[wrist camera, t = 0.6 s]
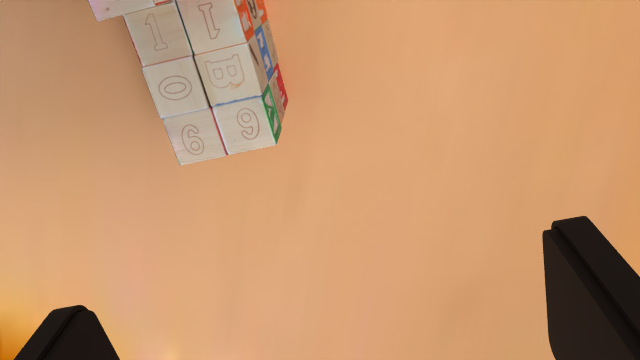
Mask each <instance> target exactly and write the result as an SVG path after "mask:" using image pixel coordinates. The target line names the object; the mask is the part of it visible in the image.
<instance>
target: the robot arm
mask: <svg viewBox="0 0 640 360" xmlns="http://www.w3.org/2000/svg"><path fill="white" fill-rule="evenodd" d="M543 254H544V270H545V286H546V302H547V318H548V335H549V342H550V346H551V349H552V352H553V355H554V357H555V359H556V360H640V277H639V276H638V274H637V273H636V272H635V271H634V270H633V269H632V268H631V266H630V265H629V264H628V263H627V262H626V261H625V260H624V258H623V257H622V256H621V255H620V254H619V253H618V252H617V250H616V249H615V248H614V247H613V246H612V245H611V244H610V242H609V241H608V240H607V239H606V238H605V237H604V236H603V234H602V233H601V232H600V231H599V230H598V229H597V228H596V226H595V225H594V224H593V223H592V222H591V221H590V220H589V219H588V218H587V217H586V216H580V217H574V218H569V219H563V220H557V221H554V222H553V223H552V226H551V230H545V231H543ZM14 360H120V359H119V357H118V355H117V353H116V352H115V350H114V348H113V346H112V344H111V342H110V340H109V339H108V337H107V335H106V333H105V331H104V329H103V327H102V326H101V324H100V322H99V320H98V318H97V316H96V315H95V313H94V312H92V311H90V310H88V309H87V308H86V307H84V306H82V305H77V306H71V307H65V308H60V309H55V310H53V311H52V312H50V313H49V315H48V316H47V317H46V318H45V320H44V321H43V322H42V324H41V325H40V326H39V327H38V329H37V330H36V331H35V333H34V334H33V335H32V337H31V338H30V339H29V340H28V342H27V343H26V344H25V346H24V347H23V348H22V349H21V351H20V352H19V353H18V355H17V356H16V357H15V359H14Z"/></svg>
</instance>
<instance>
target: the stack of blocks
mask: <svg viewBox="0 0 640 360" xmlns="http://www.w3.org/2000/svg"><path fill="white" fill-rule="evenodd" d="M88 2H89V4H90V6H91V8H92V11H93V13H94V15H95V18H96V20H97V21H98V22H99V21H103V20H106V19H110V18H114V17H117V16H121V15H123V18H124V21H125V24H126V26H127V29H128V31H129V34H130V37H131V39H132V42H133V44H134V47H135V50H136V52H137V55H138V58H139V60H140V63H141V65H142V72H143V75H144V77H145V80H146V83H147V85H148V88H149V90H150V93H151V96H152V98H153V101H154V104H155V106H156V109H157V111H158V114H159V117H160V118H161V119H163V122H164V125H165V128H166V131H167V133H168V136H169V138H170V141H171V144H172V147H173V149H174V151H175V154H176V157H177V160H178V162H179V164H180V165H185V164H190V163H195V162H200V161H204V160H210V159H215V158H220V157H225V156H227V155H228V154H235V153H240V152H245V151H250V150H254V149H260V148H264V147H269V146H274V145H276V144H277V141H278V138H279V135H280V132H281V123H282V120H283V117H284V114H285V113H284V111H285V109H286V106H287V102H288V98H287V95H286V91H285V88H284V84H283V80H282V77H281V73H280V70H279V65H278V63H277V61H278V57H277V53H276V49H275V45H274V42H273V38H272V34H271V30H270V26H269V22H268V20H267V14H266V10H265V6H264V2H263V0H88Z"/></svg>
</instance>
